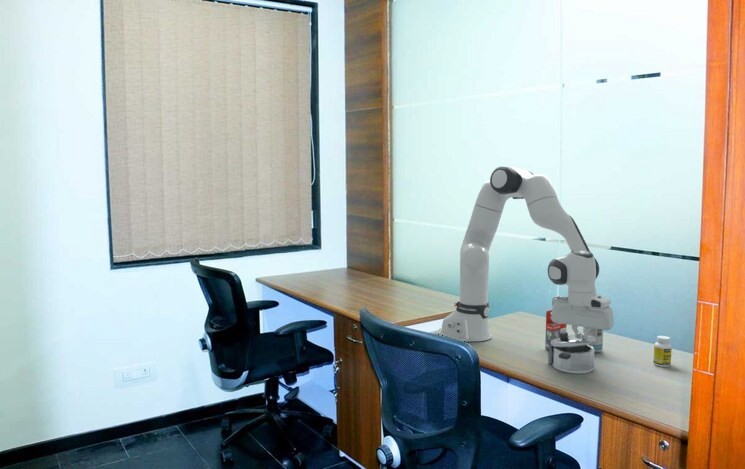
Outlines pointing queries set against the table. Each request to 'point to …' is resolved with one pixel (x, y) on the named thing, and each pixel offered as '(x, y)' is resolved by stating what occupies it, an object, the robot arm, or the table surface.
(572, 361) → the pot
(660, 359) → the supplement bottle
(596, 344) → the beverage can
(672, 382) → the table surface
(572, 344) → the lid
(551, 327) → the ink box
